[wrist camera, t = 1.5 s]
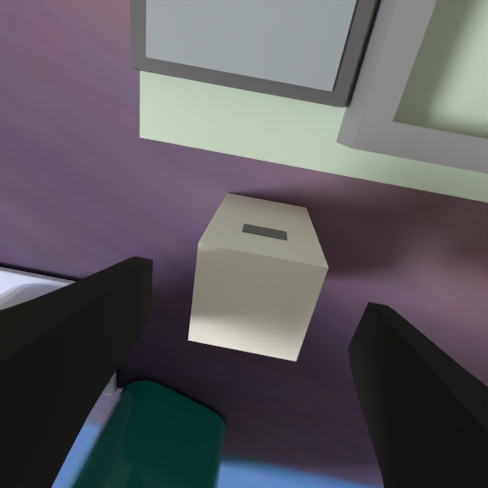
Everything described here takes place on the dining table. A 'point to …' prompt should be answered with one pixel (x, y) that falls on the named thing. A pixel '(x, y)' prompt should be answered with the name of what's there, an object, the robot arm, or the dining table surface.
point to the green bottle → (152, 442)
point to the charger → (257, 278)
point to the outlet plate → (323, 85)
